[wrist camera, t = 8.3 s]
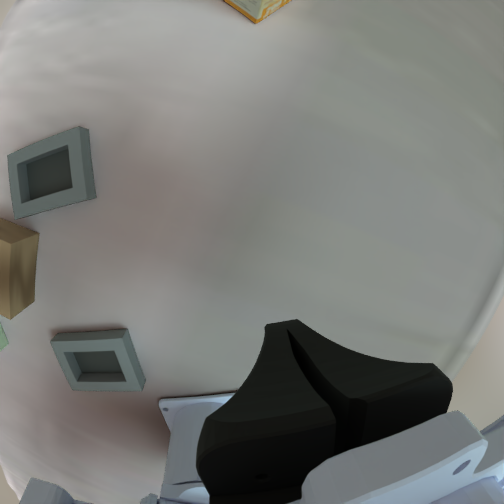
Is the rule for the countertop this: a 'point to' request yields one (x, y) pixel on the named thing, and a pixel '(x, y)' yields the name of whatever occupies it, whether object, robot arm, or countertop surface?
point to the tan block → (17, 267)
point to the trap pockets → (50, 197)
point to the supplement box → (257, 7)
